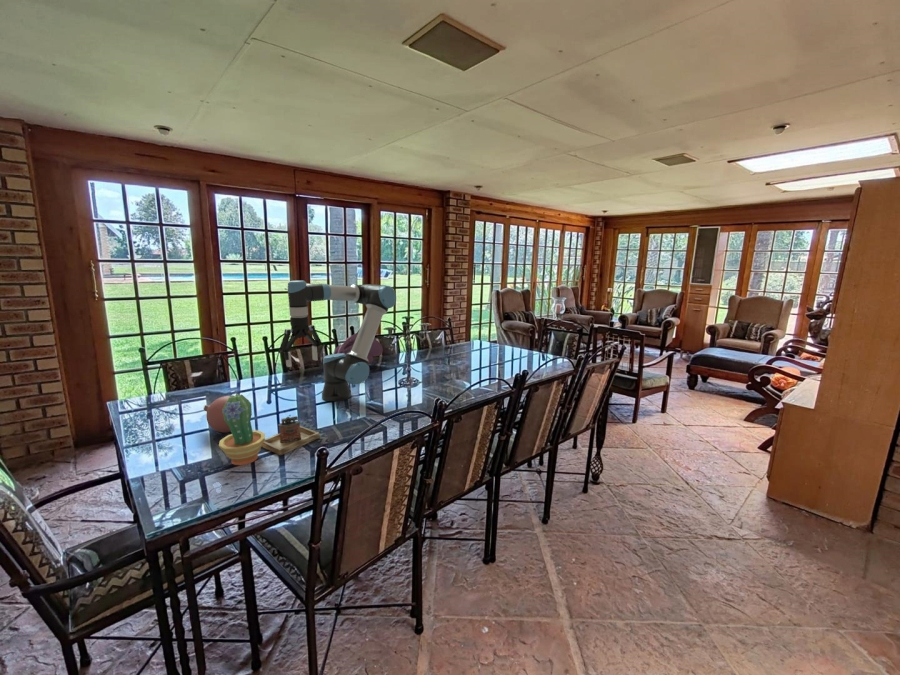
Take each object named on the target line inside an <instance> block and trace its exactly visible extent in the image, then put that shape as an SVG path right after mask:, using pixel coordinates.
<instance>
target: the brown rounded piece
mask: <svg viewBox="0 0 900 675" xmlns="http://www.w3.org/2000/svg"><path fill="white" fill-rule="evenodd" d="M230 396H231V395H224V396H220V397H218V398H217V399H214V401H212V402H211V403H210V404H204V407H203V411H204V412H206V422H207V424H208V426H209V427H210V428H211V429H213V430H214V431H215V432H219V433H232V432H231V430H230V428H229V426H228V424H227V423H226V422H225V420H224V415H223V410H222V409H223V407H224V405H225V404H226V402H227V400H228V398H229V397H230Z"/></svg>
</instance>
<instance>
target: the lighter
mask: <svg viewBox="0 0 900 675" xmlns="http://www.w3.org/2000/svg"><path fill="white" fill-rule="evenodd" d="M280 420H281V421H280V422H281V423H278V430H279V433H280V443H289V442H295V441H299V440H301V434H300V426H301V421H300V420H299V417H298V416H297V415H296V416H291V417H290V416H287V417H285V418H281V419H280Z"/></svg>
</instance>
